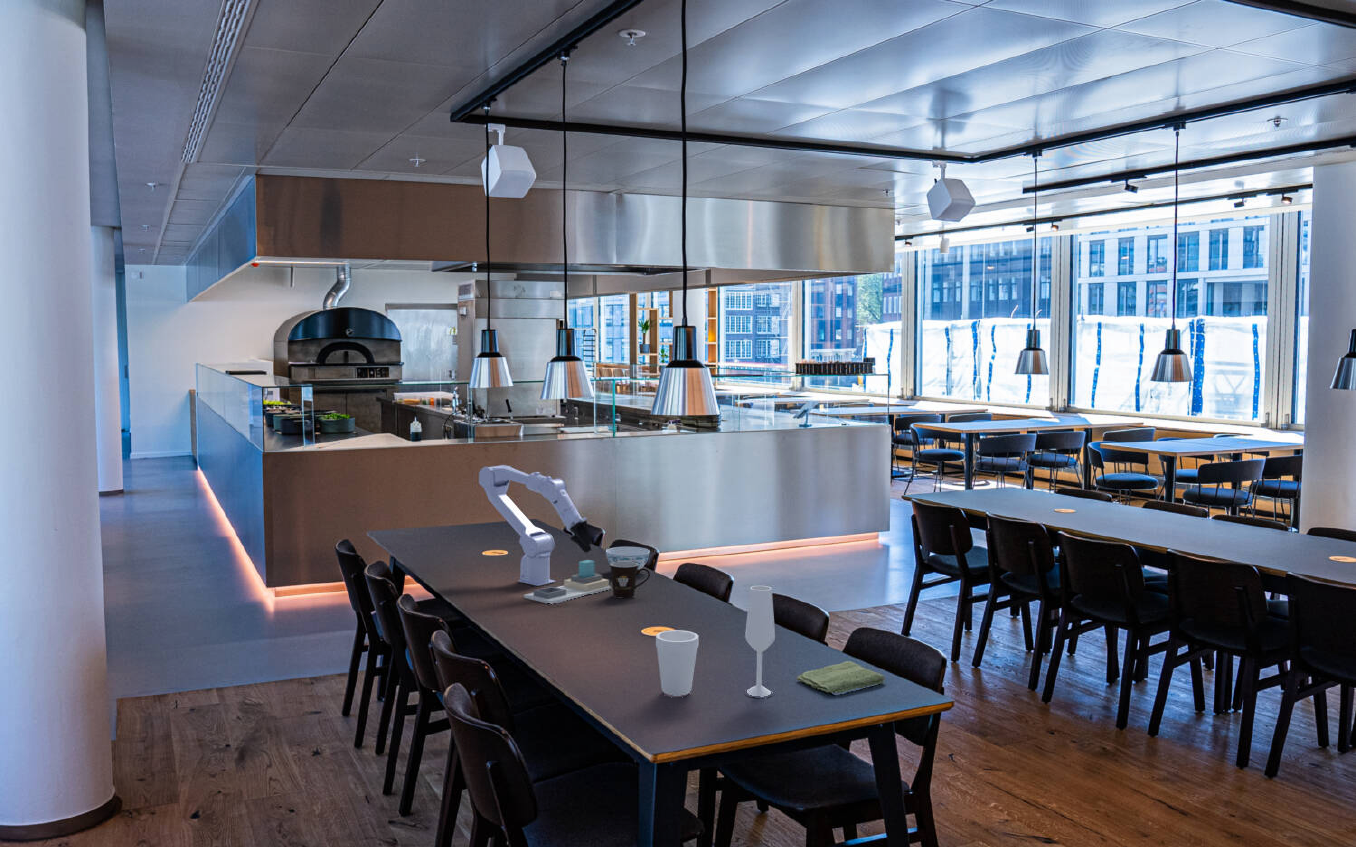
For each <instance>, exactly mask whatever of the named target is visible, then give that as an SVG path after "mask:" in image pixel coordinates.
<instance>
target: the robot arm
mask: <svg viewBox="0 0 1356 847" xmlns="http://www.w3.org/2000/svg"><path fill="white" fill-rule="evenodd" d="M478 474H479V475H478V484H479V485H480V486H481V487H482V489H484V492H485V494H486V496H487V499H488V501H489V502H490V503H491V504H492V506H493V507H494V508H495V509H496V510H497V511H498V513H499V514H500V515H501V516H502V517H503V519H505V520H506V522H508V524H509V525H510V526H511V527H512V529H514V531H515V532H516V533H517V534H518V535H519V536H520V537H519V541H518V543H519V544H520V546H521V548H522V550H523V552H524V555H523V556H522V557H521V560H520V570H519V571H520V575H519V576H520V579H518V582H519V583H524V584H528V585H531V586H532V585H533V586H536V587H539V586H544V585H548V584H552V583H556V580H554V579H550V577H551V576H550V572H551V571H550V569H551V568H550V564H551V563H550V561H551V559H550V558H551V555H552V551H553V550H554V549H555V544H556V543H555V539H554V537H553V536H552V534H550V533H549V532H546V531H545V530H544V529H542V528H539V527H538V526H535V525H534V524H533V523H532V522H531V520H530V519H529V518H528V517H526V515H525V514H524V512H522V511H521V510H520V509H519V507H518V506H517V505H516V504H515V503H514V501H512V499H511V498H510V497H509V496H508V495H507V492H508V490H509V487H510V482H511V481H512V482H516V483H519V484H523V485H525V486H526V489H528V491H532V492H535V493H538V494H541V495H542V496H543V498H545V499H546V500H548V501H549V503H551V504H552V506H553V507H554V509H555V510H556V513H557V515H558V516H559V517H560V519H561V521H562V523H563V524H564V526H565V530H566V531H568V532H569V533H571V534H572V536H571V537H570V540H571V541H572V542H574V543H575V544H577V546H579V548H580V549H581V550H582V551H583V552H584V553H585V554H587V553H589V552H591V551H592V547H591V545H592V544H593V540H592V538H591V535H590V532H589V528H588V521H587V517H582V516H581V515H580V513H579V511H578V509H577V508H576V506H575V505H574V503H573V501H572V499H571V498H570V496H569V494H568V492H567V484H566V481H564V480H563V479H561V478H559V477H557V478H554V479H553V478H552V476H546V475H545V476H544V475H543V474H541V472H539V471H534V472H531V473H529V474H528V473H526V472H524V471H520V470H518V469H517V468H516V469H515V468H513V467H512V466H510V465H506V464H501V465H495V466H483V467H482V468H481V469H480V471H479V473H478Z"/></svg>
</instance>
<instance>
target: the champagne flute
mask: <svg viewBox="0 0 1356 847" xmlns="http://www.w3.org/2000/svg"><path fill="white" fill-rule="evenodd" d="M749 589H750V590H749V598H748V606H747V615H746V624H745V634H744V638H745V640H746V642H747V643H748V645H749V646H750V647H751V648H752V649H753V650H754V651H756V677H755V678H756V682H755V684H756V685H754V686H752V687H749V689H746V690H747V693H748V694H749V695H752V696H760V697H764V696H768V695H770V694H771V692H772V691H771V690H770V689H767V688H766V687H764V686H763V685H762V684H763V683H762V679H763V678H762V677H763V676H762V675H763V652H764V651H765V650H767V649H768V648H769V647H770V646H771V645H772V644H773V643H774V641H775V640H776V633H775V618H774V617H775V616H774V603H773V591H772V590H773V589H772V587H770V586H767V585H754V586H750V588H749Z"/></svg>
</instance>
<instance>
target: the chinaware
mask: <svg viewBox="0 0 1356 847" xmlns="http://www.w3.org/2000/svg"><path fill="white" fill-rule="evenodd" d="M650 553H651V551H650V550H649V549H648V548H645V547H640V546H615V547H611V548H607V549H606V550H605V555H606V558H607V561H608V563H609V564H611V563H613V562H620V561H628V562H635V563H638V570H639V569H642V568H643V567H644V566H645V565H646V564H647V562H648V560H649V556H650Z"/></svg>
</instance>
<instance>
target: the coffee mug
mask: <svg viewBox="0 0 1356 847" xmlns="http://www.w3.org/2000/svg"><path fill="white" fill-rule="evenodd" d="M609 564H610V563H609ZM609 567H610V571H611V572H610V573H611V574H610V576H611V583H612V593H613V594H612V595H613V597H614V596H616V597H622V598H621V599H630V598H629V597H632V598H634V597H635V592H636V589H637V588H638V587H639V586H642V585H643V584H645V583H646V582H647V581H648V580H649V579H650V576H651V573H650V571H649V570H648V569H647V568H643V567H642V568H641V569H639V570H638V563H635V562H628V561H620V562H613V563H611V564H610V566H609ZM642 571H645V572H646V573H647V574H648V576H647V578H646V579H644V580H643V581H641V582H640V583H638V584H637V576H638V575H639V574H640V572H642ZM633 596H634V597H633ZM616 597H615V598H616Z"/></svg>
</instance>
